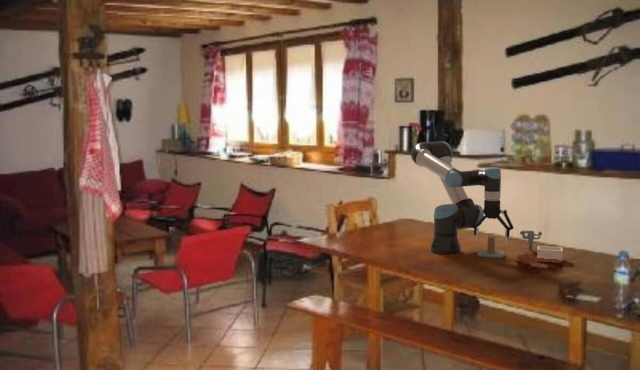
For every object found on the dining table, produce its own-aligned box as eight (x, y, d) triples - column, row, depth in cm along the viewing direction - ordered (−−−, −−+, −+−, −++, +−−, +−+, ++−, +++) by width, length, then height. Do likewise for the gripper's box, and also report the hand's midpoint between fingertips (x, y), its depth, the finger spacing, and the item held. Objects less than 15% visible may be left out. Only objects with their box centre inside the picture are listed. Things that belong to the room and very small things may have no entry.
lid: (477, 257, 312) (478, 237, 310) (480, 253, 319) (480, 234, 318) (502, 259, 307) (502, 239, 306) (504, 255, 315) (504, 235, 314)
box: (536, 261, 301) (537, 249, 300) (537, 258, 308) (538, 245, 308) (561, 263, 297) (562, 251, 296) (562, 259, 304) (562, 247, 304)
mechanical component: (541, 251, 321) (542, 232, 320) (520, 251, 323) (520, 231, 322) (540, 250, 324) (541, 230, 322) (519, 249, 326) (520, 230, 324)
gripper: (464, 199, 311) (464, 242, 314) (518, 201, 302) (517, 245, 305) (467, 197, 318) (466, 239, 320) (519, 199, 309) (518, 242, 312)
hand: (491, 242), depth 313 cm, fingers open, 13 cm apart
